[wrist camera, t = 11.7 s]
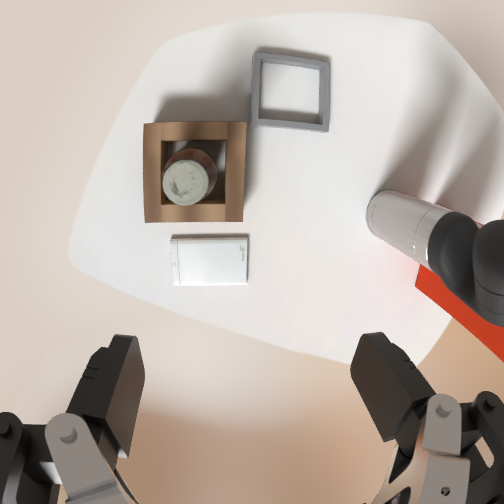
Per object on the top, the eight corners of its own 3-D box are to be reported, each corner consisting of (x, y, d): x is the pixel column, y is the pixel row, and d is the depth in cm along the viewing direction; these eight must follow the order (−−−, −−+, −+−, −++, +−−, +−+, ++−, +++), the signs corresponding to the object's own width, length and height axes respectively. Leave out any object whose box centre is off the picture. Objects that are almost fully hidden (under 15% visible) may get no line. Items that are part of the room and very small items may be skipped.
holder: (242, 125, 39) (246, 122, 35) (239, 214, 44) (242, 221, 39) (151, 126, 37) (143, 123, 33) (152, 214, 42) (144, 222, 38)
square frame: (325, 65, 37) (329, 62, 35) (323, 132, 41) (328, 131, 39) (252, 56, 35) (254, 51, 34) (249, 125, 39) (251, 124, 38)
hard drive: (248, 239, 45) (169, 240, 43) (246, 285, 47) (173, 287, 46) (246, 236, 46) (171, 237, 45) (245, 281, 49) (174, 282, 47)
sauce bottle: (172, 187, 41) (139, 215, 23) (177, 147, 39) (146, 143, 21) (213, 192, 42) (212, 223, 24) (219, 152, 40) (223, 150, 22)
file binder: (453, 212, 50) (567, 266, 20) (437, 283, 55) (529, 358, 26) (430, 209, 48) (556, 269, 19) (414, 285, 54) (511, 371, 25)
